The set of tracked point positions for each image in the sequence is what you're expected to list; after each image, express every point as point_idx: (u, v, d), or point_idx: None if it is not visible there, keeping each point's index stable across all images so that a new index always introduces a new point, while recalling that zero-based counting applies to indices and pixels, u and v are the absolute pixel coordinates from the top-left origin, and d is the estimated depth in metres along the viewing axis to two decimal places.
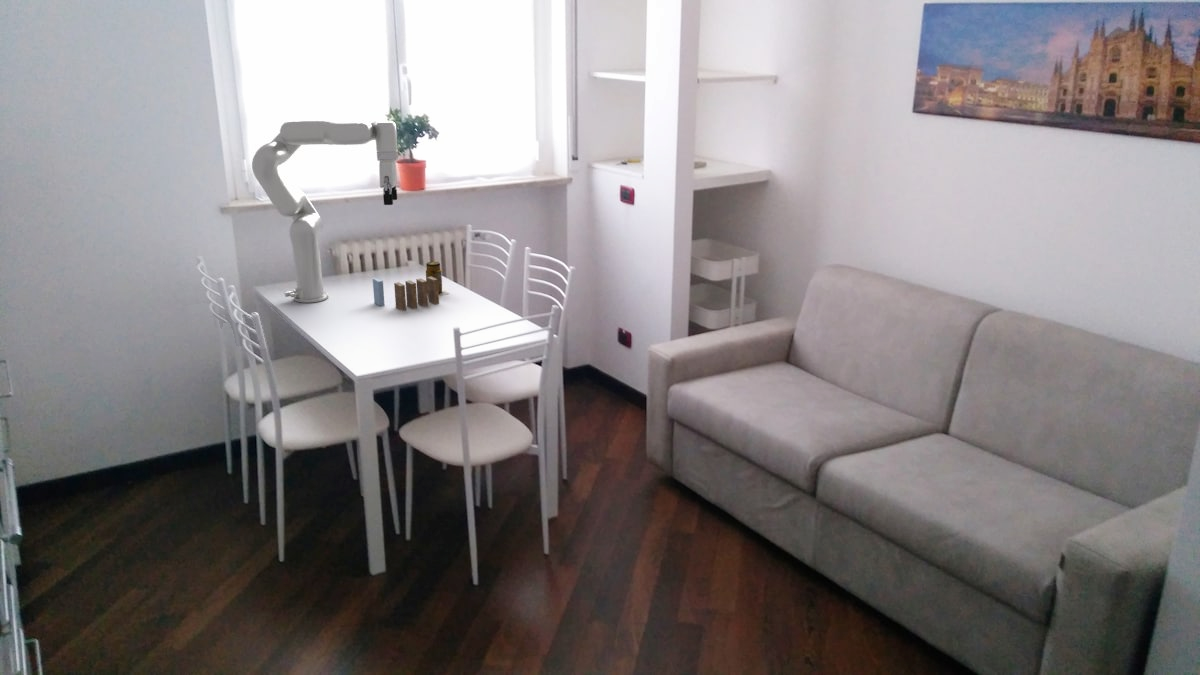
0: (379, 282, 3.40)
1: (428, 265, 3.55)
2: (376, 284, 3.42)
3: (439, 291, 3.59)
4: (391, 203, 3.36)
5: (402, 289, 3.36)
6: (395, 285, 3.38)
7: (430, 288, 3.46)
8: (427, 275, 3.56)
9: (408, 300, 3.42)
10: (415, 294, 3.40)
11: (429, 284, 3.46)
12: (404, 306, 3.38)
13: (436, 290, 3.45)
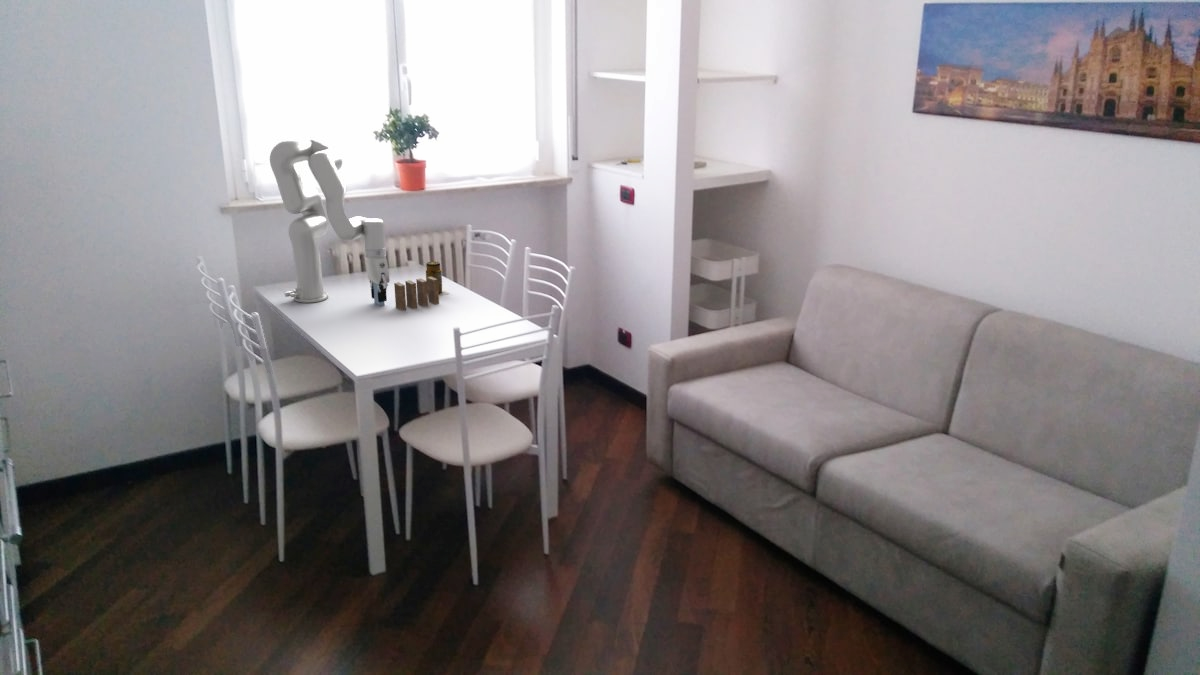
0: None
1: (428, 265, 3.55)
2: (376, 284, 3.42)
3: (439, 291, 3.59)
4: None
5: (402, 289, 3.36)
6: (395, 285, 3.38)
7: (430, 288, 3.46)
8: (427, 275, 3.56)
9: (408, 300, 3.42)
10: (415, 294, 3.40)
11: (429, 284, 3.46)
12: (404, 306, 3.38)
13: (436, 290, 3.45)
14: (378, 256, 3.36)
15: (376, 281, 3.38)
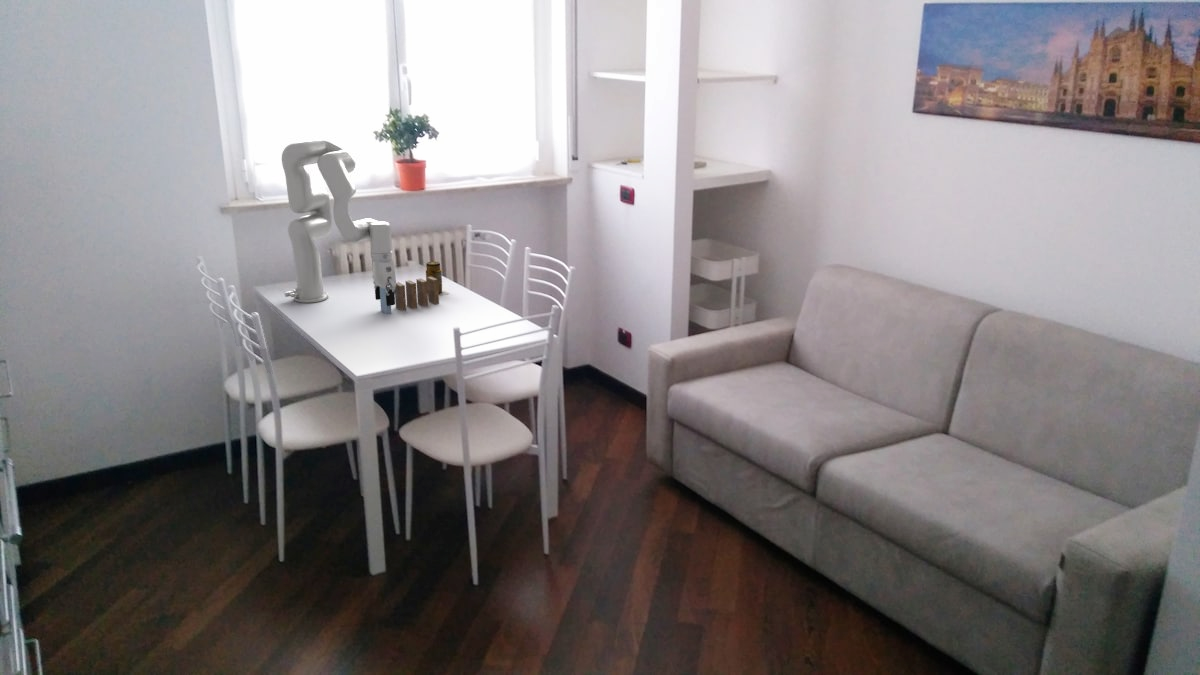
0: None
1: (428, 265, 3.55)
2: (383, 291, 3.33)
3: (439, 291, 3.59)
4: None
5: (402, 289, 3.36)
6: None
7: (430, 288, 3.46)
8: (427, 275, 3.56)
9: (408, 300, 3.42)
10: (415, 294, 3.40)
11: (429, 284, 3.46)
12: (404, 306, 3.38)
13: (436, 290, 3.45)
14: (385, 260, 3.27)
15: (382, 285, 3.29)
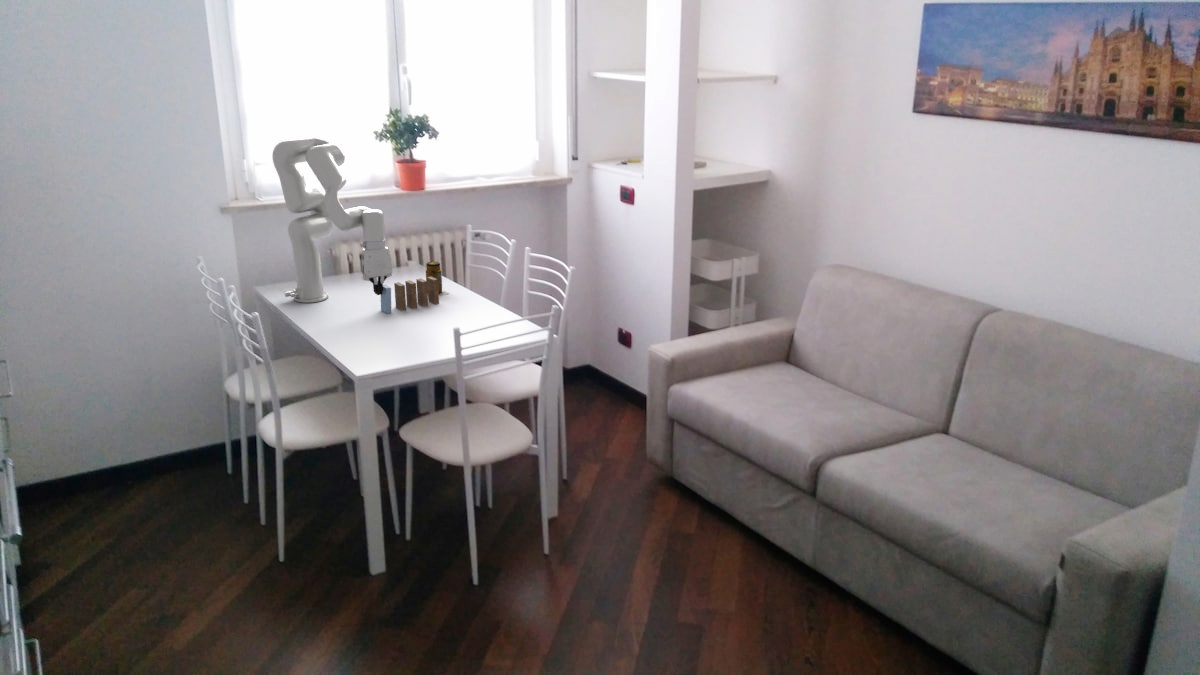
0: (387, 289, 3.32)
1: (428, 265, 3.55)
2: (384, 290, 3.33)
3: (439, 291, 3.59)
4: None
5: (402, 289, 3.36)
6: (395, 285, 3.38)
7: (430, 288, 3.46)
8: (427, 275, 3.56)
9: (408, 300, 3.42)
10: (415, 294, 3.40)
11: (429, 284, 3.46)
12: (404, 306, 3.38)
13: (436, 290, 3.45)
14: (364, 247, 3.26)
15: None
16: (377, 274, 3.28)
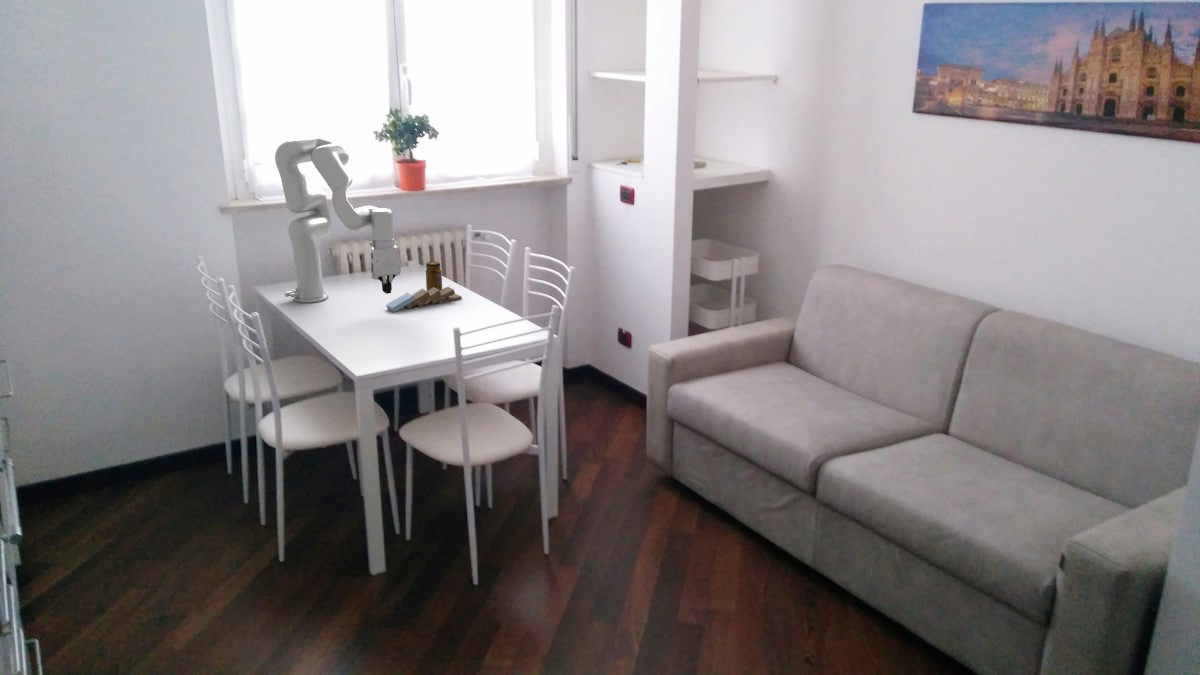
0: (413, 297, 3.40)
1: (428, 265, 3.55)
2: (408, 296, 3.40)
3: None
4: None
5: (425, 295, 3.42)
6: (421, 290, 3.45)
7: None
8: (427, 275, 3.56)
9: None
10: (431, 299, 3.44)
11: (451, 295, 3.53)
12: (411, 305, 3.40)
13: (452, 300, 3.50)
14: (373, 246, 3.28)
15: None
16: (386, 273, 3.30)
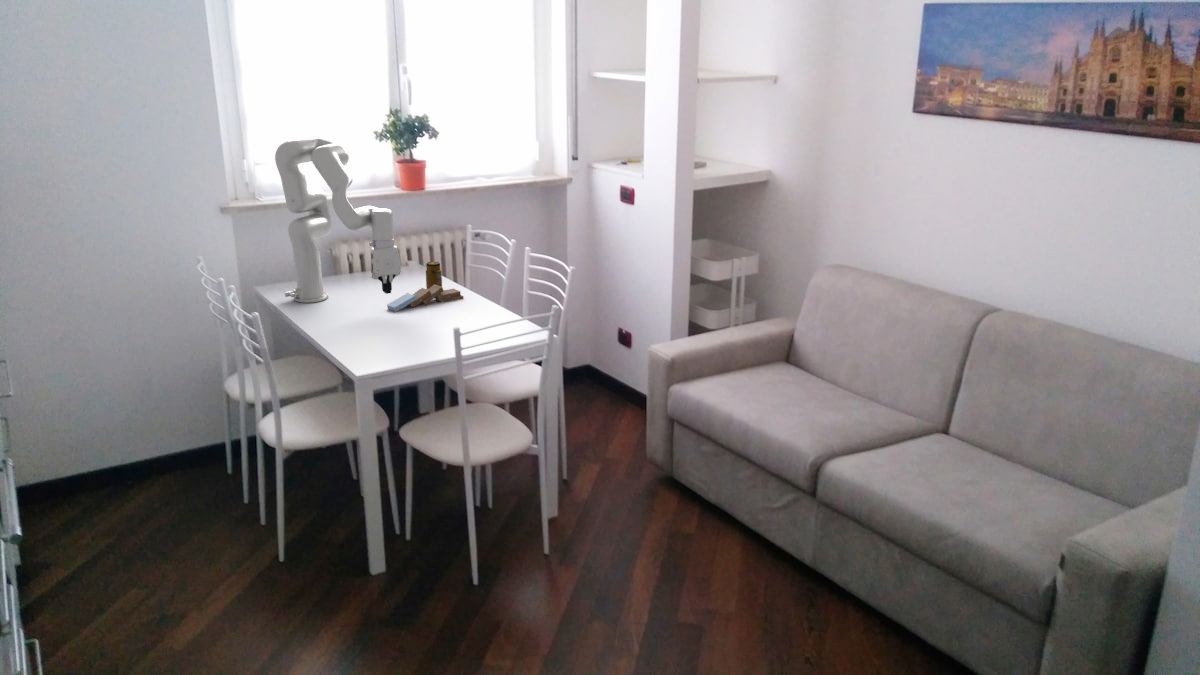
0: (414, 297, 3.41)
1: (428, 265, 3.55)
2: (409, 296, 3.41)
3: None
4: None
5: (427, 293, 3.44)
6: (422, 289, 3.47)
7: None
8: (427, 275, 3.56)
9: None
10: (435, 296, 3.47)
11: None
12: (414, 304, 3.41)
13: None
14: (373, 246, 3.28)
15: None
16: (386, 273, 3.30)
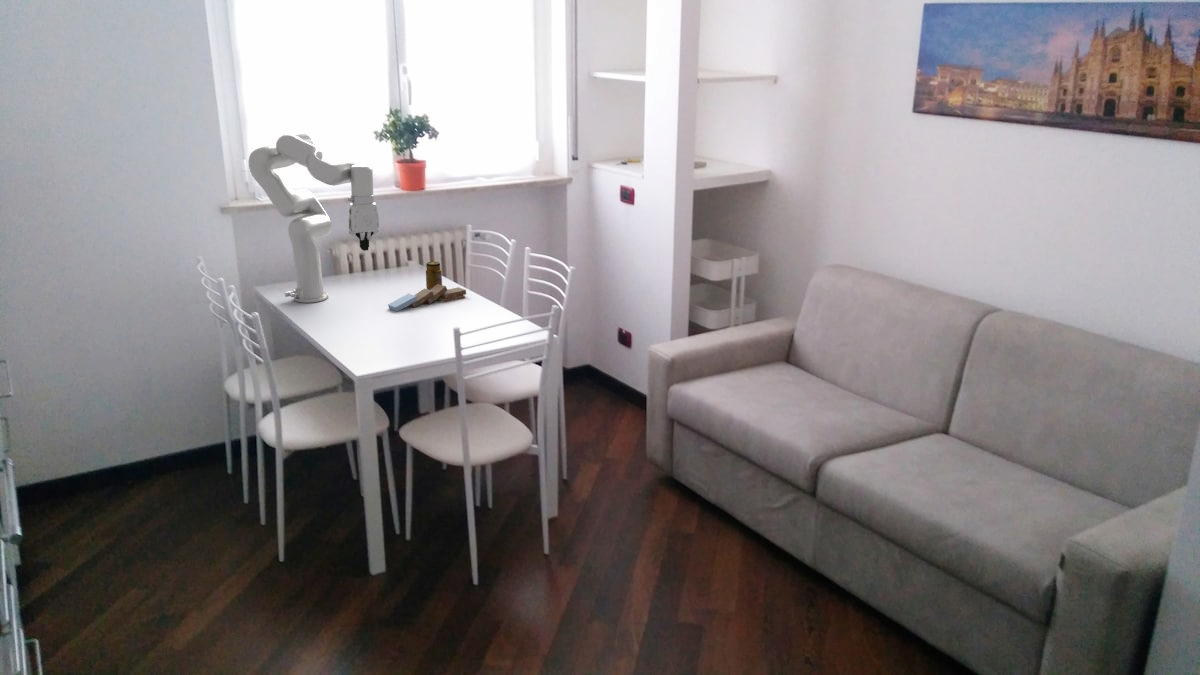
0: (415, 297, 3.41)
1: (428, 265, 3.55)
2: (410, 296, 3.41)
3: None
4: None
5: (429, 294, 3.45)
6: (424, 289, 3.48)
7: None
8: (427, 275, 3.56)
9: None
10: (439, 295, 3.48)
11: None
12: (416, 304, 3.42)
13: None
14: None
15: None
16: (364, 229, 3.28)
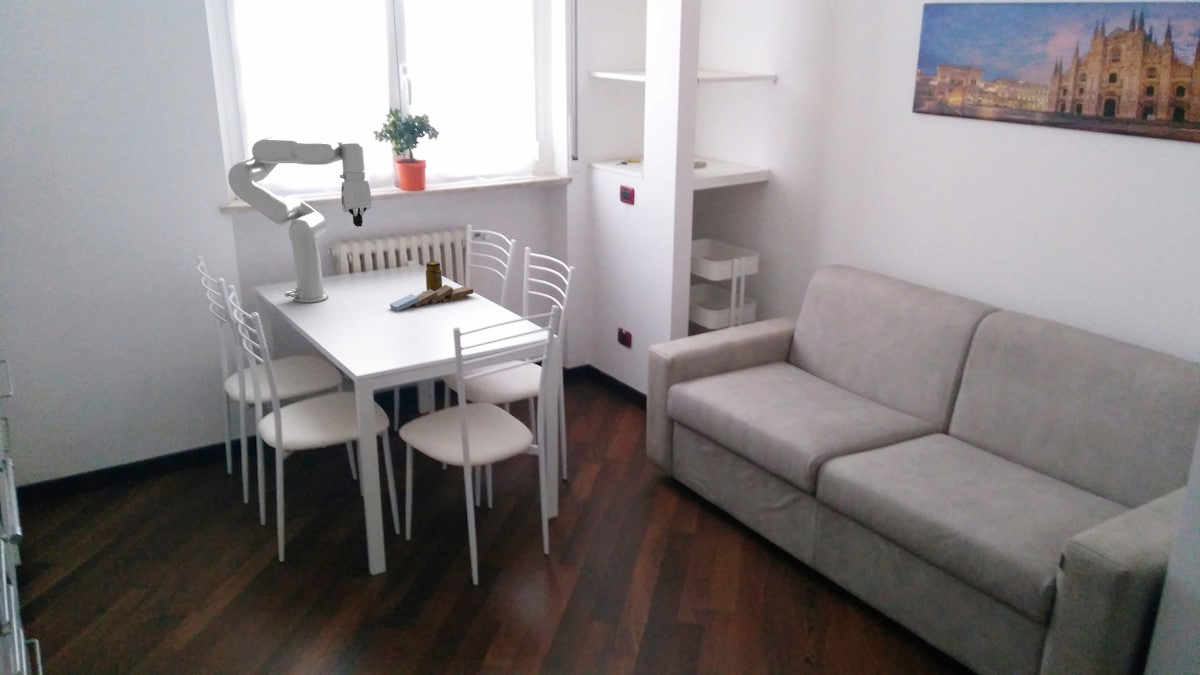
0: (417, 298, 3.41)
1: (428, 265, 3.55)
2: (412, 297, 3.42)
3: None
4: None
5: (433, 295, 3.45)
6: (429, 290, 3.48)
7: None
8: (427, 275, 3.56)
9: None
10: (444, 296, 3.48)
11: None
12: (419, 304, 3.42)
13: None
14: (343, 178, 3.32)
15: None
16: (356, 205, 3.34)
